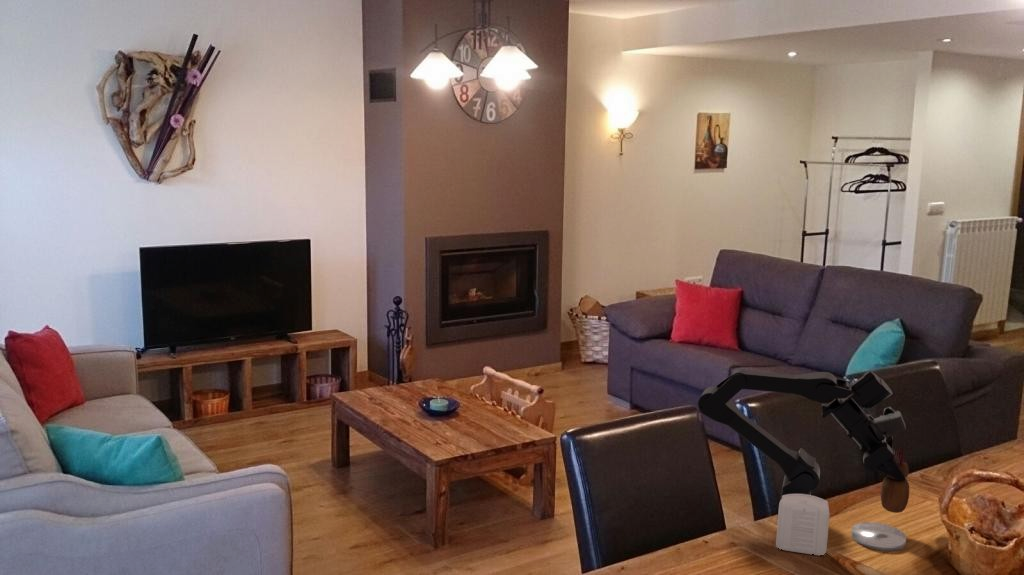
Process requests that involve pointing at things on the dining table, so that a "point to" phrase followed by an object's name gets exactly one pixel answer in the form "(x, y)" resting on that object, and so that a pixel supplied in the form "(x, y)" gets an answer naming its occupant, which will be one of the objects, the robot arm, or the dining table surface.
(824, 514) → the white upright block
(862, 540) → the plate
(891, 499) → the wooden figurine
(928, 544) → the dining table surface
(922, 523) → the dining table surface
